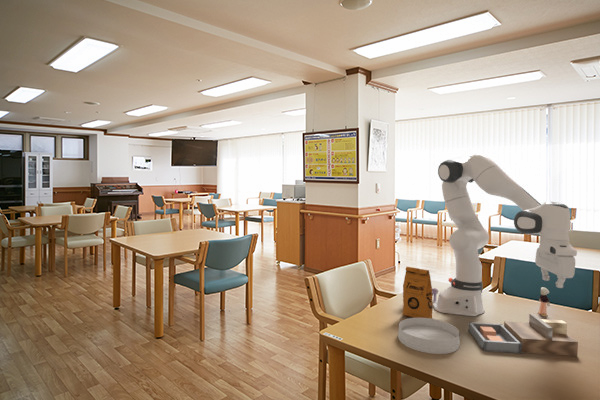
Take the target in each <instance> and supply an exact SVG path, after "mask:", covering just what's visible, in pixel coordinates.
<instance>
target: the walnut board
mask: <svg viewBox="0 0 600 400" xmlns="http://www.w3.org/2000/svg"><path fill="white" fill-rule="evenodd" d="M503 326H504V327H505V328H506V329H507V330H508V331H509V332H510V333H511V334H512V335H513V336H514V337H515V338H516V339H517V340H518V341H519V342H520V343H521V344H522V349H521V353H525V354H526V353H527V354H540V355H541V354H542V355H543V354H544V355H556V356H557V355H558V356H569V357H578V352H579V351H578V350H579V349H578V348H579V342H578V341H577V340H576V339H575V338H573V337H572V336H570V335H569V334H568V333H567V334H555V333H552V339H547V338H546V337H545V336H543V335H542V334H541V333H540V332H538V331H537V330H536V329H535V328H534V327H532V326H531V325H530V324H529V322H521V321H520V322H519V321H503Z"/></svg>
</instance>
